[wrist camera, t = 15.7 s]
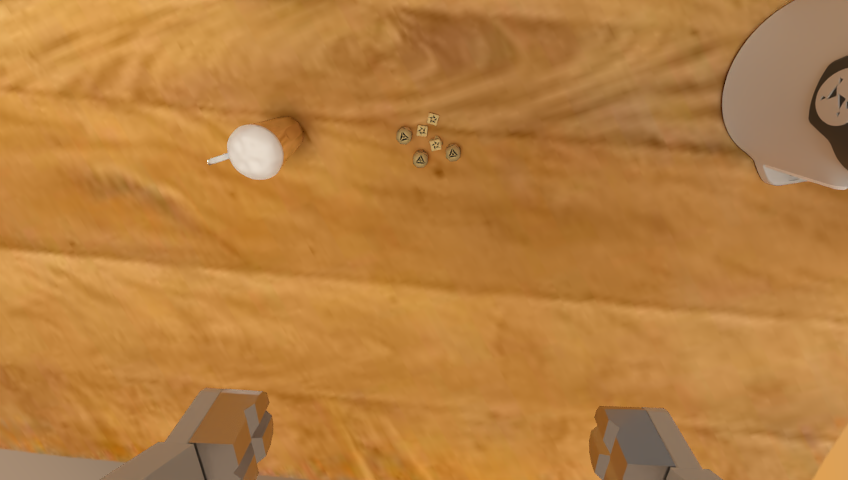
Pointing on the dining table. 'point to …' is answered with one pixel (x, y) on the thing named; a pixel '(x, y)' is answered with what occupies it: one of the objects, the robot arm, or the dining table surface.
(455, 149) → the dice set
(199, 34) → the dining table surface
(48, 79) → the dining table surface
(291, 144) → the milkshake
